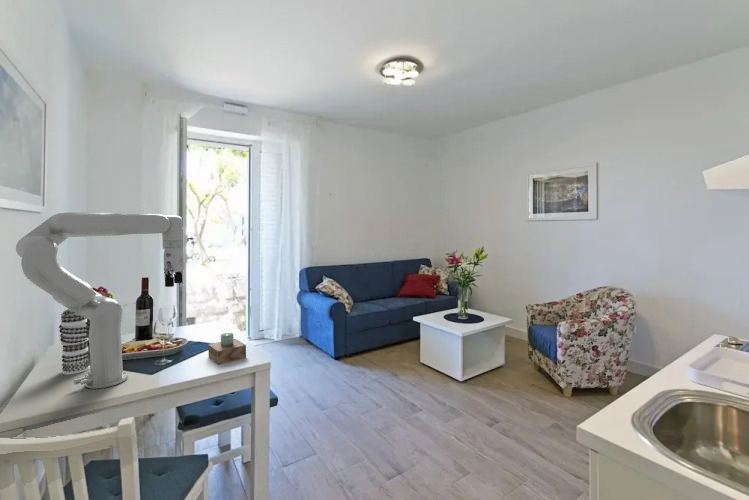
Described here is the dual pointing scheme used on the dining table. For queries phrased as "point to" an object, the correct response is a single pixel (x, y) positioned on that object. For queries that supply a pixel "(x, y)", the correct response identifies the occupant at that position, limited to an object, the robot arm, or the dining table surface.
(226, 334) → the green rounded block
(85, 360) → the black white patterned vase
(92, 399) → the dining table surface
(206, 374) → the dining table surface
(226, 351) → the walnut block
